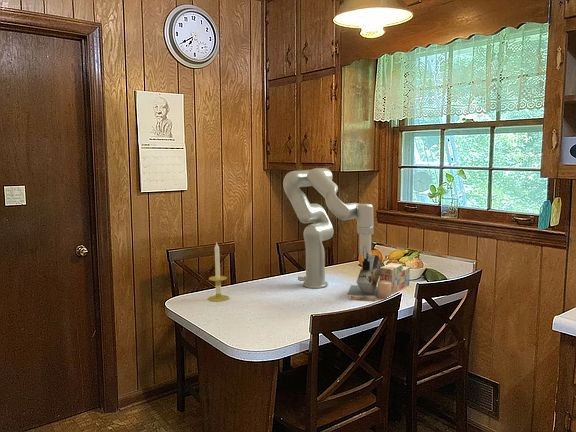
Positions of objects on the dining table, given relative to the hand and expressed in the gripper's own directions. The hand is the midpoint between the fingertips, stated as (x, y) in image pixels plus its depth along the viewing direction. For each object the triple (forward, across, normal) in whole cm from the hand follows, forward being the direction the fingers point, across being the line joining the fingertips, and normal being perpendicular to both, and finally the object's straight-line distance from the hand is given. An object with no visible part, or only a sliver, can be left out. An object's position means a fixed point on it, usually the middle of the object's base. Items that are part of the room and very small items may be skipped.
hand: (366, 269), depth 225 cm
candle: (+11, +18, -67) cm, 70 cm away
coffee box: (+9, +2, -1) cm, 9 cm away
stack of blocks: (+12, -13, +12) cm, 22 cm away
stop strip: (+12, +9, -1) cm, 15 cm away
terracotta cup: (+12, +2, +8) cm, 15 cm away
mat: (+12, -7, -1) cm, 14 cm away
